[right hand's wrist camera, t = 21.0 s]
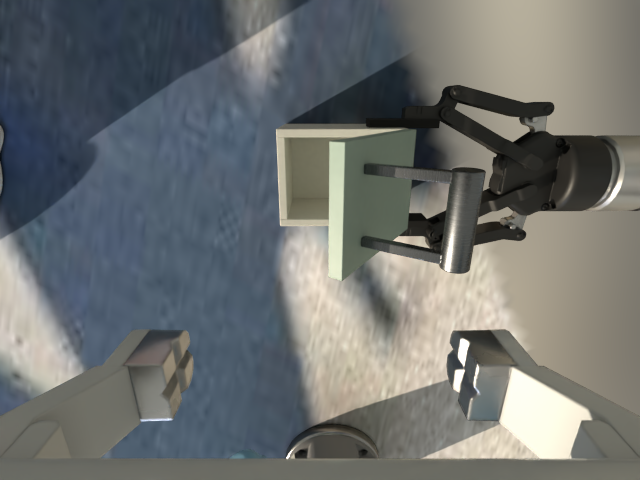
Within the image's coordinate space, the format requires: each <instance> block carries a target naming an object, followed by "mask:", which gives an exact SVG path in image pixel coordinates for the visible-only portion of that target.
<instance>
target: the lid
mask: <svg viewBox="0 0 640 480" xmlns="http://www.w3.org/2000/svg"><path fill="white" fill-rule="evenodd" d="M415 140H416V129H402V130H396V131H390V132H384V133H377V134H371V135H365V136H358V137H352V138H346V139H340V140H333V141H330V143H329V269H328V277H330V278H333V279H337V280H340V281H343V280H344V279H345V278H346V277H348V276H349V275H350V274H351V273H353V272H354V271H355V270H356V269H358V268H359V267H360V266H361V265H363V264H364V263H365V262H366V261H368V260H369V259H370V258H371V257H373V256H374V255H375V254H376V253H378V252H379V251H383V252H388V253H392V254H397V255H401V256H406V257H410V258H415V259H419V260H424V261H428V262H433V263H437V264H439V266H440V268H441V269H443V270H445V271H447V272H450V273H457V274H462V273H466V272H468V271H469V270H470V264H471V258H472V252H473V246H474V240H475V234H476V228H477V222H478V216H479V210H480V203H481V197H482V191H483V185H484V179H485V173H486V172H485V171H484V170H482V169H477V168H465V167H461V168H454V169H452V170H443V169H432V168H421V167H413V162H414V151H415ZM412 180H421V181H430V182H439V183H448V184H450V187H449V194H448V202H447V210H446V217H445V225H444V233H443V241H442V248H441V251H439V250H435V249H430V248H425V247H420V246H415V245H410V244H405V243H400V242H395V241H393V240H394V239H395V238H397V237H398V236H399V235H400V234H402V233H403V232H404V231H405V230H407V228H408V217H409V206H410V195H411V184H412Z"/></svg>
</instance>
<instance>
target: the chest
mask: <svg viewBox="0 0 640 480" xmlns="http://www.w3.org/2000/svg"><path fill="white" fill-rule="evenodd" d="M402 129H407V128H369V127H367V126H366V124H284V125H283V126H281V127H279V128H278V129H276V136H277V159H278V183H279V206H280V225H281V226H329V143H330V141H333V140H340V139H346V138H352V137H358V136H365V135H371V134H377V133H384V132H390V131H396V130H402Z"/></svg>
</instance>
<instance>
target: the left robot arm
mask: <svg viewBox="0 0 640 480" xmlns="http://www.w3.org/2000/svg"><path fill="white" fill-rule="evenodd" d="M457 102H458V103H461V104H465V105H469V106H473V107H477V108H480V109H484V110H488V111H491V112H495V113H499V114H503V115H506V116H512V117H520V118H519V120H520V122H521V124H522V125H527V126H528V127H529V128H530V132H528V133H526V134H525V135H523V136H522V137H520V138H519V139H517V140H516V141H514V142H511V141H509V140H507V139H504V138H503V137H501V136H499V135H498V134H496V133H494V132H492V131H491V130H489V129H487V128H486V127H484V126H482V125H481V124H479V123H477V122H475V121H474V120H472V119H470V118H469V117H467V116H465V115H463V114H462V113H460V112H458V111H457V110H455V107H456V104H457ZM553 111H554V105H553V103H551V102H531V103H523V102H520V101H516V100H512V99H508V98H505V97H501V96H498V95H494V94H490V93H486V92H483V91H479V90H475V89H472V88H468V87H464V86H461V85H454V86H448V87H445V88H444V89H443V91H442V97H441V99H440V101H439V103H438V104H436V105H434V106H407V107H404V108H402V118H366V126H367V127H369V128H439V123H440V121H441V122H443V123H445V124H446V125H448V126H450V127H452V128H453V129H455V130H457V131H459V132H460V133H462V134H464V135H466V136H467V137H469V138H471V139H472V140H474V141H476V142H478V143H479V144H481V145H483V146H485V147H486V148H487V149H489V150H490V151H492V152H494V153H496V154H497V156H496V157H494V158H493V164H492V166H493V174H492V176H491V178H490V182H489V187H490V188H489V189H487V190H484V191H482V197H481V203H480V210H479V216H478V217H480V216H482V215H485V214H487V213H489V212H491V211H498V210H501V209H503V208H505V207H509V208H510V209H511V210H513V211H514V212H513V214H512V215H511V216H509V217H505V218H501V219H500V222H488V223H483V224H478V225H477V228H476V234H475V240H474V245H478V244H483V243H488V242H492V241H497V240H501V239H506V240H516V241H521V240H523V239H524V238H525V237H526V232H525V231H524V230H522V228H523V225H524V222H525V219H526V216H527V215H530V214H533V213H535V212H538V211H583V210H586V211H640V136H596V137H595V136H554V135H551V134H549V133H548V132H546V131H545V129H546V120H547V116H548V115H550V114H551V113H552V112H553ZM445 217H446V211H444V212H441V213H439V214H437V215H435V216H433V217H431V218H429V219H426V218H425V217H424V216H423V214H422V213H409V217H408V228H407V230H405V231H404V232H403V233H402V234H400V235H399V236H424V237H425V242H426V244H427V245H428V246H429V248H430V249H435V250H439V251H441V248H442V241H443V233H444V225H445ZM262 458H266V457H265V456H264V455H262V456H261V455H259V454H258V453H256V452H255V451H253V450H249V449H246V450H242V451H239V452H238V453H236V454H234V455H233V456H232V457H230V458H229V459H262ZM286 459H379V457H378V452H377V448H376V446H375V444H374V443H373V441H372V440H371V439H370V438H369V437H368V436H367V435H365V434H364V433H362V432H361V431H359V430H357V429H354V428H352V427H348V426H343V425H322V426H317V427H313V428H311V429H308V430H306V431H304V432H302V433H301V434H299V435H298V436H297V437H296V438H295V439H294V440H293V441H292V442H291V443H290V445H289V447H288V449H287V452H286Z"/></svg>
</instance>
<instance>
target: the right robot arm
mask: <svg viewBox="0 0 640 480" xmlns="http://www.w3.org/2000/svg"><path fill="white" fill-rule="evenodd" d="M3 140H4V132H3V129H2V127H1V126H0V151H1V148H2V144H3ZM2 184H3V176H2V169H1V163H0V194H1V191H2ZM189 344H190V339H189V334H188V332H187V331H186V330H133V331H131V332H130V333H129V334H128V336H127V337H126V338H125V339H124V340H123V342H122V343H121V344H120V345H119V346H118V347H117V349H116V350H115V351H114V352H113V353H112V355H111V356H110V357H109V358H108V359H107V361H106V362H105V363H104V364H103V365H102V366H95V367H93V368H92V369H90V370H88V371H86V372H84V373H82V374H80V375H78V376H76V377H74V378H72V379H70V380H68V381H67V382H65V383H63V384H61V385H59V386H57V387H55V388H53V389H51V390H49V391H47V392H45V393H43V394H42V395H40V396H38V397H36V398H34V399H32V400H30V401H28V402H26V403H24V404H22V405H20V406H18V407H16V408H15V409H13V410H11V411H9V412H7V413H5V414H3V415H1V416H0V480H640V416H639V415H637V414H635V413H633V412H631V411H629V410H627V409H625V408H623V407H621V406H619V405H617V404H616V403H614V402H612V401H610V400H608V399H606V398H604V397H602V396H600V395H598V394H596V393H594V392H593V391H591V390H589V389H587V388H585V387H583V386H581V385H579V384H577V383H575V382H573V381H571V380H570V379H568V378H566V377H564V376H562V375H560V374H558V373H556V372H554V371H552V370H550V369H548V368H547V367H545V366H538V365H537V364H536V363H535V362H534V361H533V359H532V358H531V357H530V356H529V355H528V353H527V352H526V351H525V350H524V349H523V348H522V346H521V345H520V344H519V343H518V342H517V340H516V339H515V338H514V337H513V336H512V334H511V333H510V332H509V331H507V330H505V329H499V330H471V331H453V332H452V334H451V338H450V344H451V346H452V348H453V350H452V351H451V352H450V353H449V354H448V357H447V375H448V378H449V382H450V384H451V386H452V389H454V390H455V391H457V392H458V393H459V399H458V401H459V404H460V406H461V408H462V410H463V412H464V414H465V416H466V418H467V420H478V421H499V423H500V424H501V425H502V426H504V427H505V428H506V429H507V430H508V431H509V432H511V433H512V434H513V435H514V436H515V437H516V438H517V439H519V440H520V441H521V442H522V443H523V444H524V445H526V446H527V447H528V448H529V449H530V450H531V451H532V452H534V453H535V454H536V455H537V456H538V457H539V458H541V459H280V458H262V459H100V458H101V457H102V456H103V455H104V454H105V453H106V452H108V451H109V450H110V449H111V448H112V447H113V446H115V445H116V444H117V443H118V442H119V441H120V440H121V439H123V438H124V437H125V436H126V435H127V434H128V433H130V432H131V431H132V430H133V429H134V428H135V427H137V426H138V425H139V424H140V423H141V421H161V420H173V418H174V416H175V414H176V412H177V410H178V408H179V406H180V404H181V401H182V399H181V393H182V392H183V391H185V390H186V389H188V386H189V384H190V382H191V378H192V373H193V357H192V354H191V353H190V352H189V351H188V350H187V348H188V346H189Z"/></svg>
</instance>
